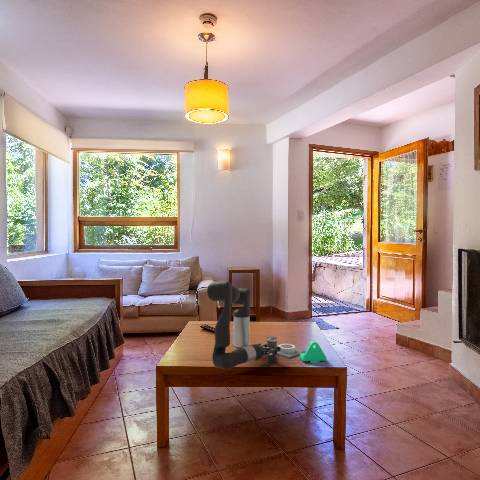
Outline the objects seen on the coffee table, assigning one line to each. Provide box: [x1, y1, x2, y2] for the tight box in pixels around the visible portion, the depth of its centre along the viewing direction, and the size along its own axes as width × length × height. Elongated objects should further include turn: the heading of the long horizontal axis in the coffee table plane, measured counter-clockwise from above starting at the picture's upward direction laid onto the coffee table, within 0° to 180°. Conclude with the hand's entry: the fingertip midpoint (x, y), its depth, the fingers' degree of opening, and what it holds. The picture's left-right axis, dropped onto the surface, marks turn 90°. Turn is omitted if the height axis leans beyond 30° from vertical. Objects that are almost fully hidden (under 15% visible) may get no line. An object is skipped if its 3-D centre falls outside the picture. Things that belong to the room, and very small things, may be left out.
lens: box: [266, 336, 278, 364], centre depth 192 cm, size 5×5×12 cm
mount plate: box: [277, 343, 306, 359], centre depth 206 cm, size 14×14×4 cm
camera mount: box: [299, 340, 327, 364], centre depth 195 cm, size 12×8×10 cm, turn 96°
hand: (275, 347), depth 193 cm, fingers open, 6 cm apart
